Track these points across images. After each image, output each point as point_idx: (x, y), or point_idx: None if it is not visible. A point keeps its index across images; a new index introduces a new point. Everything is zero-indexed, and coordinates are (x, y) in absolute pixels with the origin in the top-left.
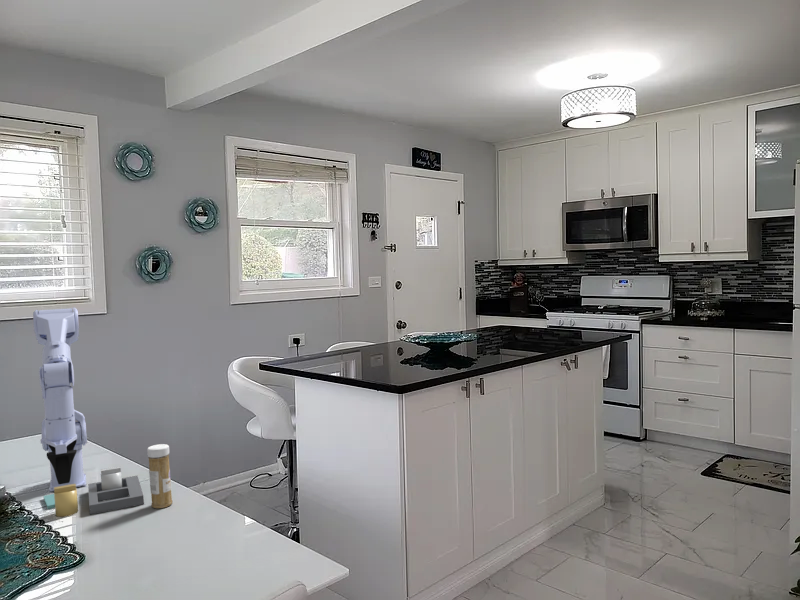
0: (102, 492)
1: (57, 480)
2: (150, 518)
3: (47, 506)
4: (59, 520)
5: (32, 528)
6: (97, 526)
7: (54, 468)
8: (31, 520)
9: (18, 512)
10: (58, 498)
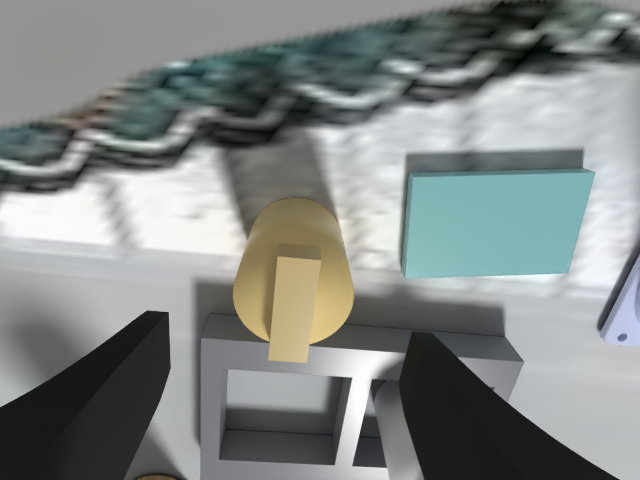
0: (348, 393)
1: (129, 324)
2: None
3: (411, 176)
4: (213, 205)
5: (172, 85)
6: (50, 321)
7: (23, 399)
8: (300, 89)
9: (484, 34)
10: (249, 249)
